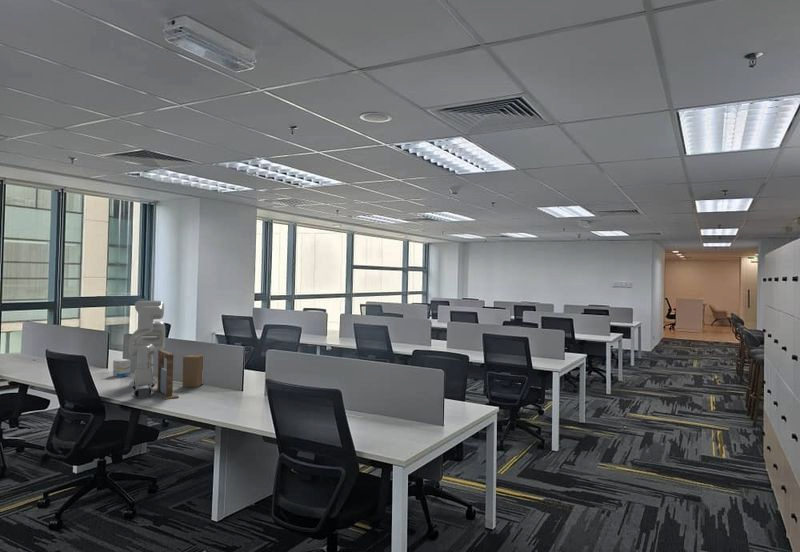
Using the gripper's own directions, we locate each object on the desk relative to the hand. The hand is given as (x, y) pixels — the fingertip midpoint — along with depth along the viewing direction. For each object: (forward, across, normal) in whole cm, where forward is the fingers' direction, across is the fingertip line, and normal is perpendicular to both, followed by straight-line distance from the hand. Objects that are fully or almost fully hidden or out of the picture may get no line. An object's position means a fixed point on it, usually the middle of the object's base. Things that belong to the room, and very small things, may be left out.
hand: (143, 395), depth 323 cm
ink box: (+1, -3, -80) cm, 80 cm away
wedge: (+1, 0, -4) cm, 4 cm away
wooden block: (+1, -35, -19) cm, 40 cm away
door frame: (+1, -13, -3) cm, 13 cm away
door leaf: (+1, -14, -3) cm, 14 cm away
